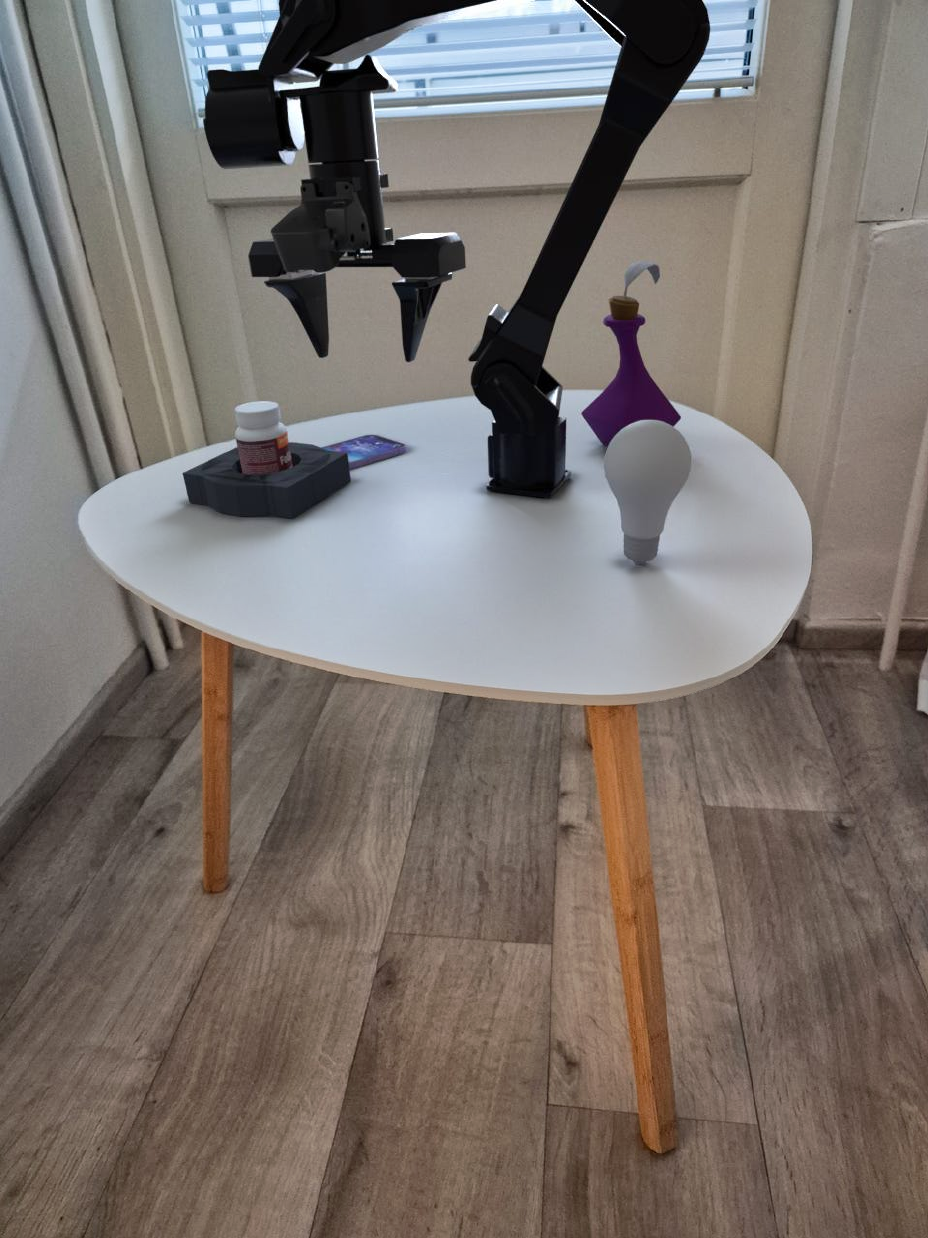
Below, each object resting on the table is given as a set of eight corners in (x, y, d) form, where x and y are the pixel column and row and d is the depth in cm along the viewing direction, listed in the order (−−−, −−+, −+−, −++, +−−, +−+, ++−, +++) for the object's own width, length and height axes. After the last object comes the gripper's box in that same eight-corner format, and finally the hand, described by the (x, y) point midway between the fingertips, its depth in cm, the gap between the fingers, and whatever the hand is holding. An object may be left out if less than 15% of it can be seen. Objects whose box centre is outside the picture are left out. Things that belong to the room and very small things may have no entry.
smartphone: (253, 466, 83) (371, 433, 91) (255, 474, 83) (372, 441, 92) (288, 481, 78) (410, 445, 86) (289, 490, 78) (410, 453, 87)
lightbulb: (664, 588, 57) (678, 439, 52) (586, 570, 60) (591, 427, 55) (691, 555, 62) (707, 414, 56) (617, 540, 65) (625, 405, 59)
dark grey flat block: (357, 477, 80) (354, 448, 78) (285, 524, 70) (280, 492, 69) (260, 465, 84) (255, 437, 83) (180, 506, 75) (173, 476, 73)
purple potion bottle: (621, 461, 80) (633, 269, 71) (579, 442, 86) (584, 262, 77) (679, 447, 83) (697, 261, 74) (634, 430, 89) (646, 255, 80)
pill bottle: (297, 497, 76) (283, 410, 71) (246, 503, 75) (229, 415, 71) (295, 481, 80) (282, 397, 75) (247, 486, 79) (231, 402, 75)
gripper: (187, 172, 62) (227, 375, 70) (396, 158, 55) (415, 387, 63) (273, 166, 71) (300, 348, 78) (463, 154, 63) (472, 355, 71)
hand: (365, 359), depth 72 cm, fingers open, 9 cm apart
